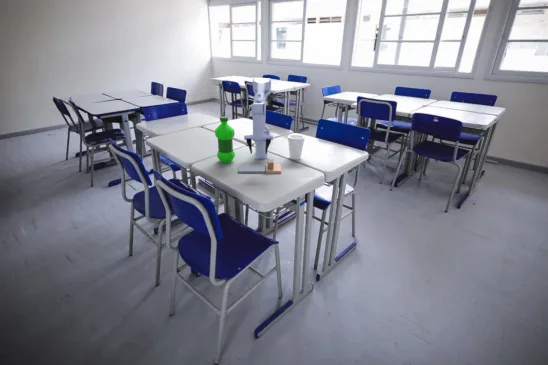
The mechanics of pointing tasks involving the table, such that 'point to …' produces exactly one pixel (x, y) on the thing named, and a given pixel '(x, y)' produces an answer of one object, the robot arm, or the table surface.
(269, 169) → the stub
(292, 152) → the foam cup
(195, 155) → the table surface
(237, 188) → the table surface
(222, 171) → the table surface
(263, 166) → the board
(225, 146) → the plastic bottle
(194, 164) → the table surface
